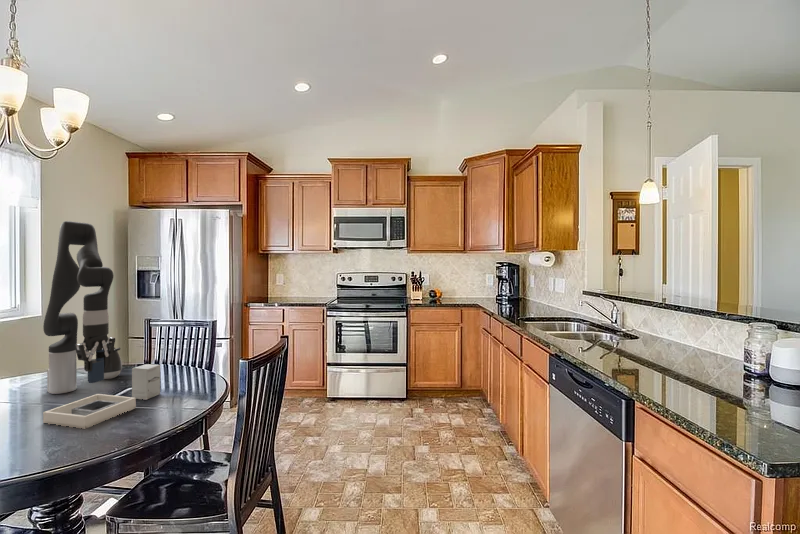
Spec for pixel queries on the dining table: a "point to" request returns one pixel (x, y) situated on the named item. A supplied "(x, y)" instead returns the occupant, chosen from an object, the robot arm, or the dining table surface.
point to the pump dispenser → (113, 365)
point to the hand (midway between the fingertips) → (96, 368)
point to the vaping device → (97, 368)
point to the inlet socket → (92, 407)
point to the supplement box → (145, 381)
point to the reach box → (66, 417)
